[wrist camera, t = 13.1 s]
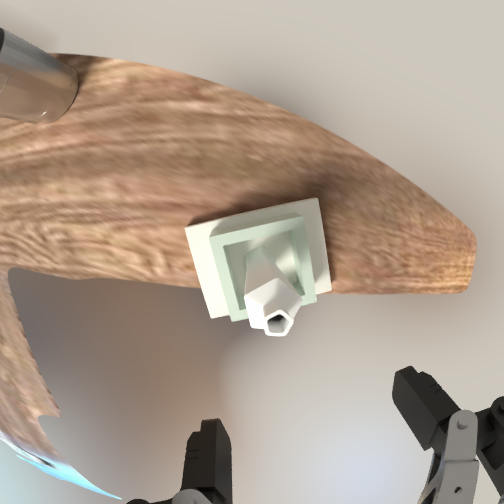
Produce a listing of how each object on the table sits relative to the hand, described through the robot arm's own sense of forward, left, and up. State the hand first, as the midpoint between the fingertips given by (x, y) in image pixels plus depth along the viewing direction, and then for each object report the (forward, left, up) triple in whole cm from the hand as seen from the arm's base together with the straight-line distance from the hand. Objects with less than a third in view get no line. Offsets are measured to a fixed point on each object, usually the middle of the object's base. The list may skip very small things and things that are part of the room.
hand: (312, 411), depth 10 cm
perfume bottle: (0, 0, -24) cm, 24 cm away
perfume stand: (0, 0, -25) cm, 25 cm away
